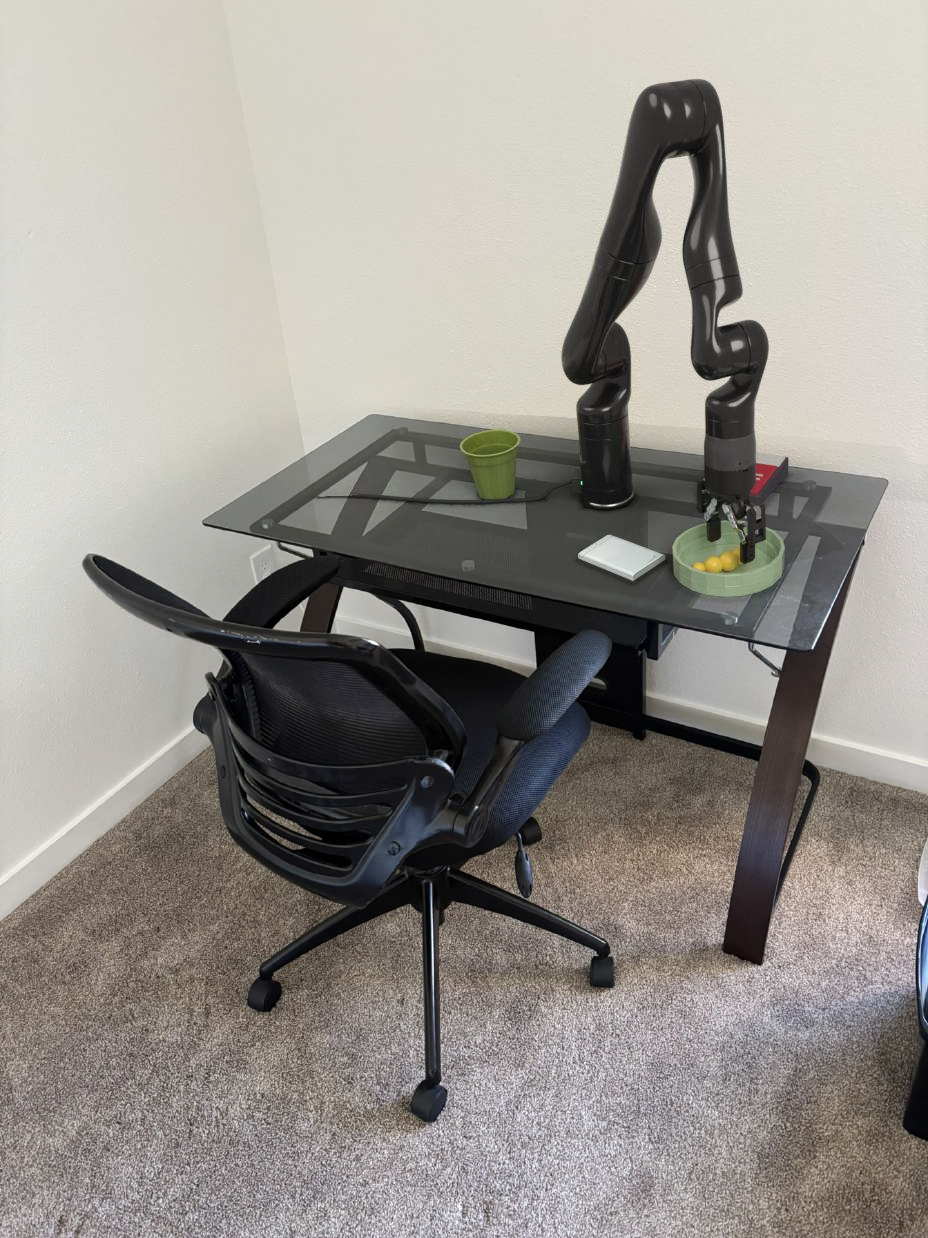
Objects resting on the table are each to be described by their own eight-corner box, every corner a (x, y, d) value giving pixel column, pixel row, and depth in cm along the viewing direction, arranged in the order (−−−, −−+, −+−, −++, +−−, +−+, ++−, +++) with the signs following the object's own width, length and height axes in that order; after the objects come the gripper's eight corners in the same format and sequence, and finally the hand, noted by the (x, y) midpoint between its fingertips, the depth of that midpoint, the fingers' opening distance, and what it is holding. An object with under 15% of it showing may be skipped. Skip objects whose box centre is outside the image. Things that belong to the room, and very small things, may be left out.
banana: (704, 585, 149) (704, 568, 148) (688, 574, 153) (688, 557, 151) (764, 562, 152) (764, 545, 150) (747, 551, 156) (748, 534, 154)
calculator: (699, 484, 171) (732, 445, 180) (700, 504, 173) (732, 465, 182) (758, 493, 165) (789, 453, 174) (758, 514, 167) (789, 473, 176)
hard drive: (665, 554, 157) (609, 532, 166) (632, 575, 153) (577, 552, 162) (665, 562, 158) (610, 540, 166) (633, 584, 154) (578, 560, 163)
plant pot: (482, 514, 182) (473, 461, 176) (459, 491, 192) (450, 440, 185) (537, 495, 185) (530, 443, 179) (512, 474, 194) (505, 423, 188)
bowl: (676, 603, 148) (676, 579, 145) (670, 547, 162) (669, 524, 159) (791, 596, 144) (792, 571, 142) (774, 539, 158) (775, 516, 156)
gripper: (681, 450, 146) (684, 540, 155) (738, 481, 134) (738, 577, 143) (721, 435, 148) (722, 526, 157) (781, 465, 136) (779, 561, 145)
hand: (730, 550), depth 150 cm, fingers open, 8 cm apart
